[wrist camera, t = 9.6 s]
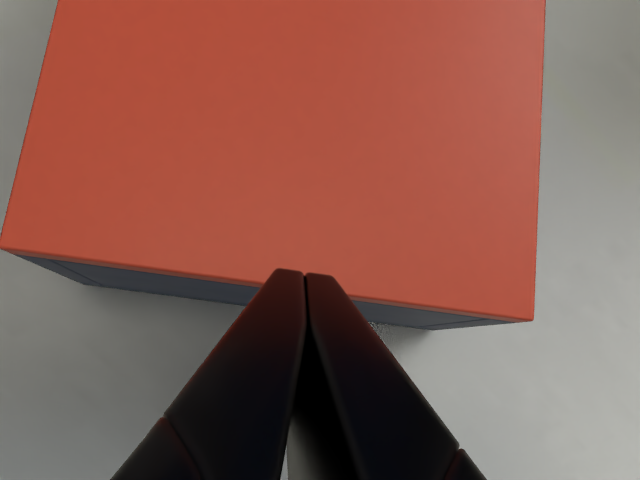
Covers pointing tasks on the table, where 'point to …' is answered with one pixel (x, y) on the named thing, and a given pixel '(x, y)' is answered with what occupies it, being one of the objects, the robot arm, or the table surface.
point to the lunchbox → (242, 294)
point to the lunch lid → (293, 146)
